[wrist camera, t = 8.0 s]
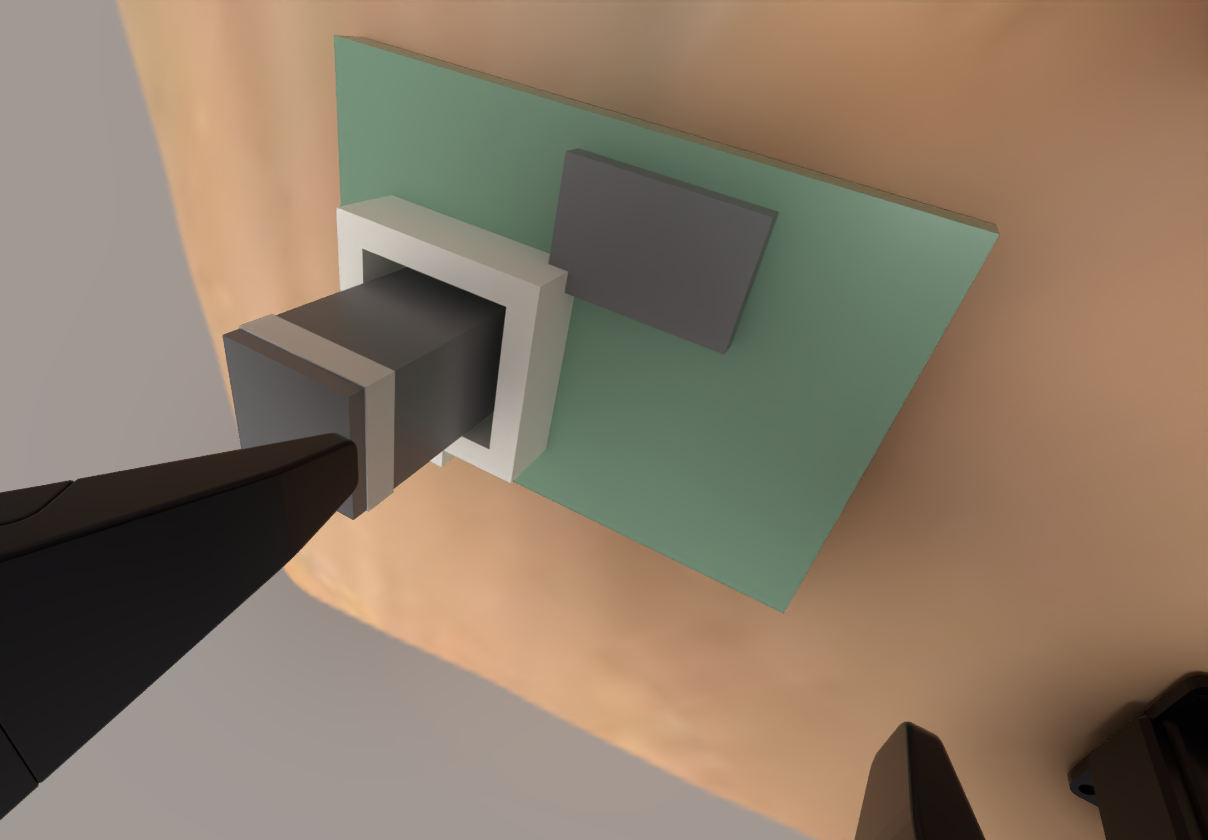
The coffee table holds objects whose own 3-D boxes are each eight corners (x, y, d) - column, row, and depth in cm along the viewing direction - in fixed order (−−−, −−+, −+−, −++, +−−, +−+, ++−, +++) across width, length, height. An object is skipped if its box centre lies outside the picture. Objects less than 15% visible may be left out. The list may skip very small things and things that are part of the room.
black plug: (528, 297, 21) (350, 395, 14) (514, 397, 23) (354, 522, 16) (428, 256, 22) (220, 332, 15) (424, 357, 24) (241, 459, 18)
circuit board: (995, 224, 15) (1010, 260, 12) (789, 591, 23) (769, 666, 20) (361, 37, 20) (266, 30, 17) (368, 390, 28) (303, 427, 25)
